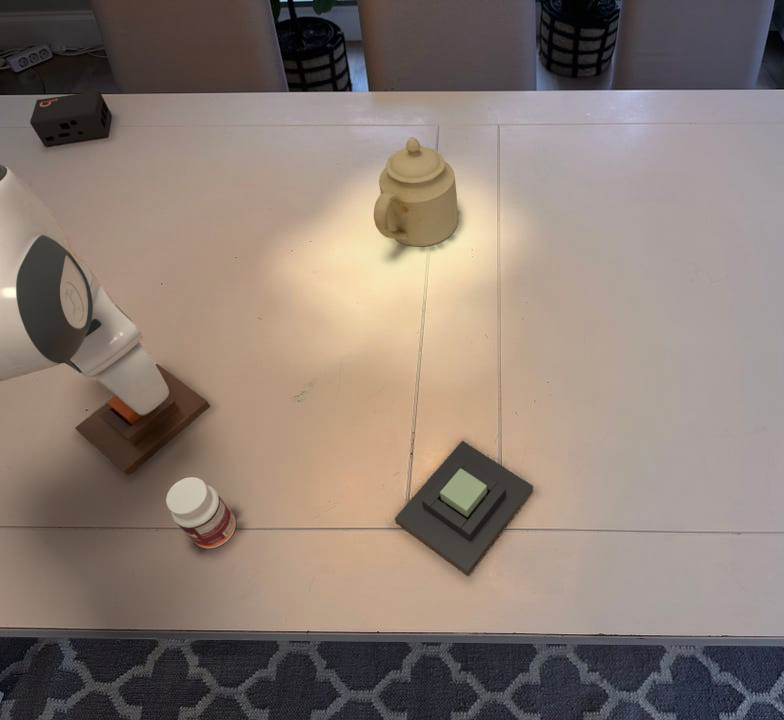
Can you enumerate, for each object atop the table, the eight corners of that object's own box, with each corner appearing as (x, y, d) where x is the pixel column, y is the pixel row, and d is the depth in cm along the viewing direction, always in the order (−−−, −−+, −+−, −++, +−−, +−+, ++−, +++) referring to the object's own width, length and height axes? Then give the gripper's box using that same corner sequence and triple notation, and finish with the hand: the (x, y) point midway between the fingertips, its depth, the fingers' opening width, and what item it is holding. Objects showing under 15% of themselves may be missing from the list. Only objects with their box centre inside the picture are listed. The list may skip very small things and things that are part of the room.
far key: (132, 425, 79) (126, 417, 78) (114, 410, 81) (107, 402, 79) (157, 404, 81) (151, 396, 80) (139, 390, 82) (133, 382, 81)
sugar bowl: (456, 265, 98) (449, 180, 86) (380, 266, 98) (363, 182, 86) (459, 198, 107) (453, 113, 95) (390, 199, 107) (375, 115, 95)
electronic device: (108, 138, 120) (94, 112, 116) (45, 147, 118) (29, 122, 114) (112, 115, 124) (99, 90, 120) (51, 124, 123) (36, 99, 119)
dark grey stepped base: (468, 576, 70) (467, 565, 67) (395, 522, 74) (392, 511, 71) (533, 490, 75) (534, 478, 73) (462, 445, 79) (461, 432, 77)
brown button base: (128, 476, 78) (116, 463, 76) (79, 432, 82) (66, 419, 80) (210, 406, 84) (201, 392, 81) (160, 368, 88) (151, 354, 85)
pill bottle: (185, 527, 74) (153, 493, 67) (223, 500, 76) (196, 464, 69) (205, 558, 72) (174, 526, 65) (244, 530, 74) (218, 496, 67)
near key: (467, 518, 71) (466, 510, 69) (440, 499, 72) (439, 492, 71) (487, 492, 73) (487, 485, 71) (461, 475, 74) (460, 467, 73)
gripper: (-23, 284, 69) (49, 364, 80) (91, 378, 61) (154, 453, 72) (33, 249, 72) (95, 331, 83) (149, 335, 64) (201, 413, 75)
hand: (123, 389), depth 78 cm, fingers closed
